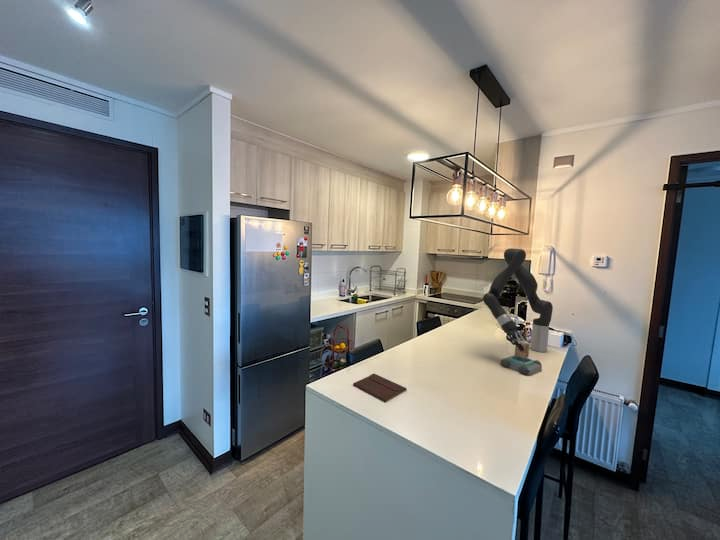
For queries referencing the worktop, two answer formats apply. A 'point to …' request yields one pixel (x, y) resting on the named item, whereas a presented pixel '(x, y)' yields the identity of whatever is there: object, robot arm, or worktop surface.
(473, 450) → the worktop surface
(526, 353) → the engine block
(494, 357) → the worktop surface
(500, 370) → the worktop surface
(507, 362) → the chassis
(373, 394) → the notebook
